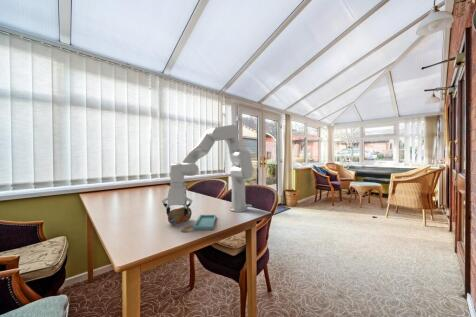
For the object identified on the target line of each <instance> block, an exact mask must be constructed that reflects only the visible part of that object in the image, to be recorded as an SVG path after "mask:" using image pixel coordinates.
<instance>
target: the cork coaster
mask: <svg viewBox="0 0 476 317" xmlns="http://www.w3.org/2000/svg"><path fill="white" fill-rule="evenodd" d="M193 226H194V225H184V226H182V227H180V228H179V231H180V232H182V233H190V232H194V231H195V230H194V229H193Z"/></svg>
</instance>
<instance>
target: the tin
mask: <svg viewBox="0 0 476 317" xmlns="http://www.w3.org/2000/svg"><path fill="white" fill-rule="evenodd" d="M184 209H185V207H184V206H182V207H178V208H175V209H172V210H170V212H169V214H168V216H167V222H168V223H169V224H170V225H173V226H177V225H181V224H183V223H187V222H188V221H189V220H190V219H191V218H192V214H193V213H192V208H190V206H189V207H188V214H187V215H186V216H185V215H184Z"/></svg>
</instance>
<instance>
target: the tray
mask: <svg viewBox="0 0 476 317" xmlns="http://www.w3.org/2000/svg"><path fill="white" fill-rule="evenodd" d="M216 220H217V214H200V215H199V216H198V217H197V219H196V221H195V222H194V224H193V225H192V226H193V229H194V231H213V229H214V227H215V223H216Z"/></svg>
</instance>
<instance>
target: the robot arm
mask: <svg viewBox="0 0 476 317" xmlns="http://www.w3.org/2000/svg"><path fill="white" fill-rule="evenodd" d="M239 132H240V130H239V127H238V126H237V125H235V124H230V125H229V124H228V125H222V126H216V127H215V126H214V127H210V128H208V129H207V130H205V131H204V133H203V134H202V135H201V136H202V137H201V138H200V139H199V141H198V143H196V145H195V147H193V148H192V150H190V151H189V152H188V153H187V155H186V156H185V157H184V158H183V160H182V161H181V163H175V162H174V163H171V164H170V166H169V167H170V169H169V171H170V180H169V182H170V187H169V188H168V192H167V193H168V195H167V197H166V198H164V199H162V200H161V203H162V205H163V207H164V208H165V209H166V216H167V217H168V214H169V212H170V211H171V206H182V207H185V209H184V215H185V216H186V215H187V214H188V207H189V208H190V206H191V205H192V203H193V202H194V201H193V199H191V198H189V197H187V196H188V194H187V188H186V186H187V185H188V184H187V182H185V176H187V177H188V176H189V177H193V176H196V175H197V174H198V173H199V171H200V170H199V169H200V168H199V166H198V165H197V164H196V163H197V162H198V161H199V160H200V159H201V158H203V157H205V156H206V155H208V154H209V152H210V151H211V149H212V147H213V146H214V144H215V142H219V141H225V142H226V144H227V147H228V153H229V154H228V155H229V159H230V161H231V162H232V164H235V165H233V166H231V168H230V169H229V170H230V171H229V172H230V180H231V206H230V207H229V211H231V212H234V213H236V212H237V213H241V212H246V211H247V210H248V208H253V206H252V204H248V203H246V182H245V180H250V179H251V178H252V177H253V174H254V170H253V162H252V156H251V154H250V152H249V151H248V150H247V149H242V146H241V142H240V139H239V138H238V136H239ZM231 162H230V163H231ZM166 202H167V203H166ZM187 202H188V204H187Z"/></svg>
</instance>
